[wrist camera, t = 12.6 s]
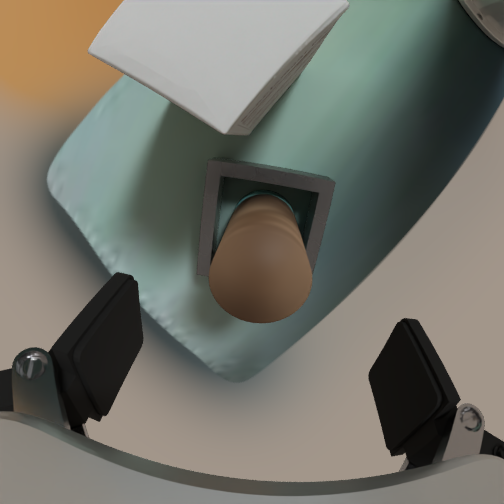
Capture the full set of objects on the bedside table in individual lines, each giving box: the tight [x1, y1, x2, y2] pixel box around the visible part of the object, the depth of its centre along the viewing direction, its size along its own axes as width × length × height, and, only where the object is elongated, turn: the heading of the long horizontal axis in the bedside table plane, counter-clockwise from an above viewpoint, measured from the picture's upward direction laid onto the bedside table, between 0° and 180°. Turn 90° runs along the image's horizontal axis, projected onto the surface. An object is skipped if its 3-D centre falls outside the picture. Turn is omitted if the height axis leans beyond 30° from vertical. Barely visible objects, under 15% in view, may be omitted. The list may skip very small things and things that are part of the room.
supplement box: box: [88, 0, 349, 135], centre depth 12 cm, size 7×7×13 cm
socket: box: [197, 157, 336, 276], centre depth 21 cm, size 9×9×2 cm
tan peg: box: [209, 190, 312, 323], centre depth 18 cm, size 5×5×10 cm
